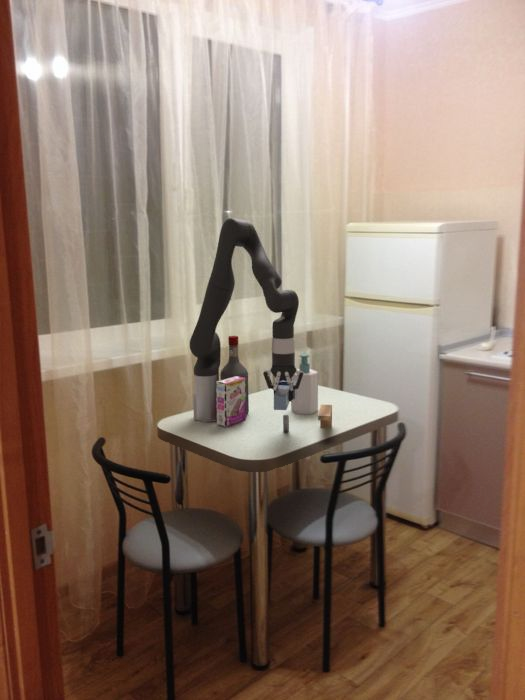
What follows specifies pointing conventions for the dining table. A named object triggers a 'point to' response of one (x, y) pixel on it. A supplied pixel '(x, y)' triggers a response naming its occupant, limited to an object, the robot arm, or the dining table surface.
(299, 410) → the soap bottle
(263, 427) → the dining table surface
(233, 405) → the candy bar box
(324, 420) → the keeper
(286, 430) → the cylinder
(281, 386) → the link
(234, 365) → the liquor
